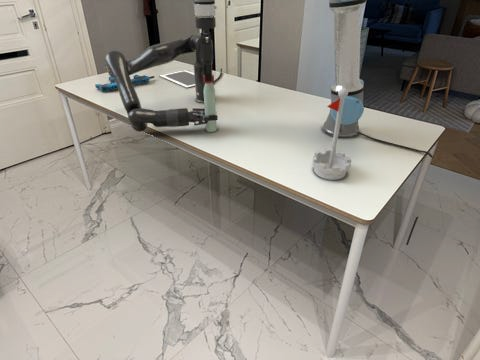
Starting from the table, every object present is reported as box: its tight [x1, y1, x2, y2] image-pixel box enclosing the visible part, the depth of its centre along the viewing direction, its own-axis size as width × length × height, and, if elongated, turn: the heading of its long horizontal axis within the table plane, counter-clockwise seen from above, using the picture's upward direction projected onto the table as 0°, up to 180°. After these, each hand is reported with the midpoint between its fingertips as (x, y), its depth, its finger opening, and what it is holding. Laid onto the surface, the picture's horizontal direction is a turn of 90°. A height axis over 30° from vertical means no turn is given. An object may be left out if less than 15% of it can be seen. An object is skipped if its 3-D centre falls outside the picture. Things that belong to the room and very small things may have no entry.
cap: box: [203, 74, 215, 84], centre depth 139 cm, size 4×4×2 cm
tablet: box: [159, 69, 195, 89], centre depth 215 cm, size 32×20×1 cm, turn 41°
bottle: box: [203, 83, 218, 133], centre depth 145 cm, size 5×5×24 cm
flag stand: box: [312, 88, 352, 181], centre depth 113 cm, size 13×13×30 cm
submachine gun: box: [94, 74, 155, 92], centre depth 206 cm, size 34×4×25 cm
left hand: (216, 115), depth 148 cm, fingers closed on bottle, 4 cm apart
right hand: (208, 78), depth 139 cm, fingers open, 6 cm apart
